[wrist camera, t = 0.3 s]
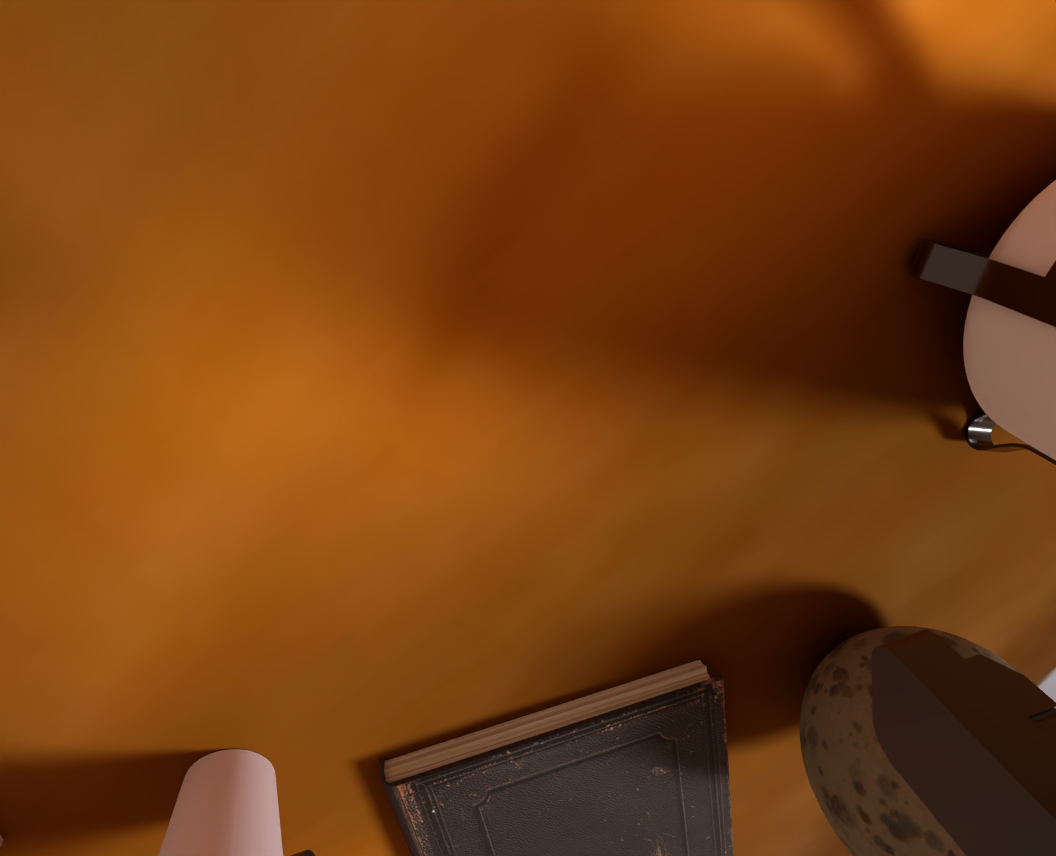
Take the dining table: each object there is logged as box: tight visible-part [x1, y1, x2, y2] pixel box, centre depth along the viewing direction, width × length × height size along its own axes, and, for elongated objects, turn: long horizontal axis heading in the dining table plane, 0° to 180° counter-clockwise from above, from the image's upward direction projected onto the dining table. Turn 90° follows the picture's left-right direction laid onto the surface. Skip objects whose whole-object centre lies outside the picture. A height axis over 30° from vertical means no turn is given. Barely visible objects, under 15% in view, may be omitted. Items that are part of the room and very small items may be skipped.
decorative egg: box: [800, 626, 1020, 856], centre depth 33 cm, size 11×11×15 cm
